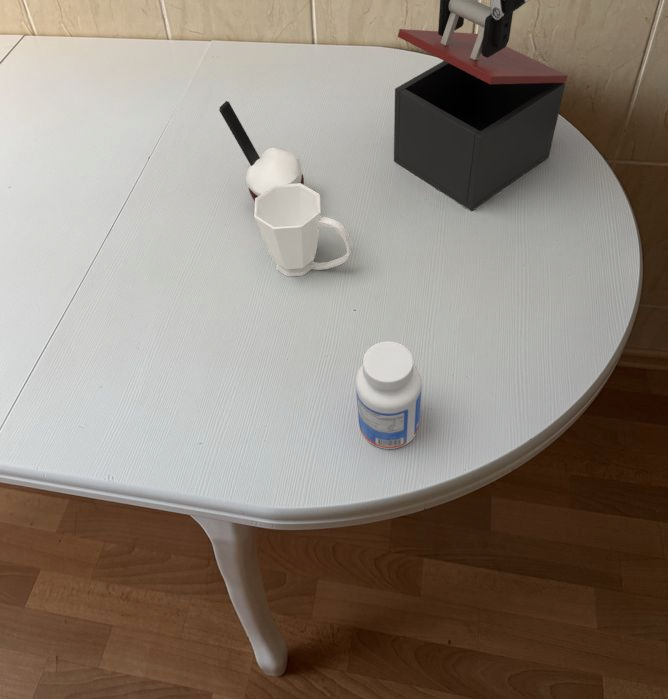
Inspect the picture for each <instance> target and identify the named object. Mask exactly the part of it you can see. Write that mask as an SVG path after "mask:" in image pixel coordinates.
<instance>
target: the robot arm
mask: <svg viewBox="0 0 668 699" xmlns="http://www.w3.org/2000/svg"><path fill="white" fill-rule="evenodd" d="M530 1H531V0H489V4H490V7H491V15H489V16H487V17H486V19H485V27H484V35H483V44H482V55H483V56H484V57H487V58H488V57H490V56H492V55H493V54H495V53H497V52H498V51H500V50H502V49H503V48H505V47H506V46H507V45H508V43H509V41H510V35H511V30H512V22H513V16H514V12H515V11H517V10H518V9H519V8H521V7H522V6H524V5H525V4H527V3H528V2H530ZM449 2H450V0H439V13H438V28H437V31H438V34H439V35H441V36H443V34H444V31H445V28H446V25H447V22H448V19H449V16H450V13H451V12H450V11H449ZM464 23H465V18H462V17H460V16H459V18H458V21H457V24H456V27H455V30H454V32H456V31H457V30H459V29H460V28H462V27H463V26H464Z"/></svg>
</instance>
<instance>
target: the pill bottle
mask: <svg viewBox="0 0 668 699" xmlns="http://www.w3.org/2000/svg"><path fill="white" fill-rule="evenodd" d="M355 393H356V406H357V418H358V427H359V430H360V433H361V435H362V436H363V437H364V439H365V440H366V441H367V442H368V443H369V444H371V445H373V446H375V447H377V448H380V449H385V450H393V449H398V448H401V447H404V446H406V445H407V444H409V443H411V441H413V439H414V438H415V437H416V435H417V434H418V431H419V427H420V423H421V422H420V421H421V402H422V376H421V372H420V371H419V369H418V367H417V366H416V365H415V363H414V357H413V354H412V353H411V351H410V350H409V349H408V348H407V346H405V345H403V344H401V343H399V342H396V341H391V340H390V341H379V342H377V343H375V344H372V345H371V346H370V347H369V348H368V349H367V350H366V351H365V353H364V355H363V358H362V365H361V366H360V367H359V369H358V371H357V373H356V378H355Z"/></svg>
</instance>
